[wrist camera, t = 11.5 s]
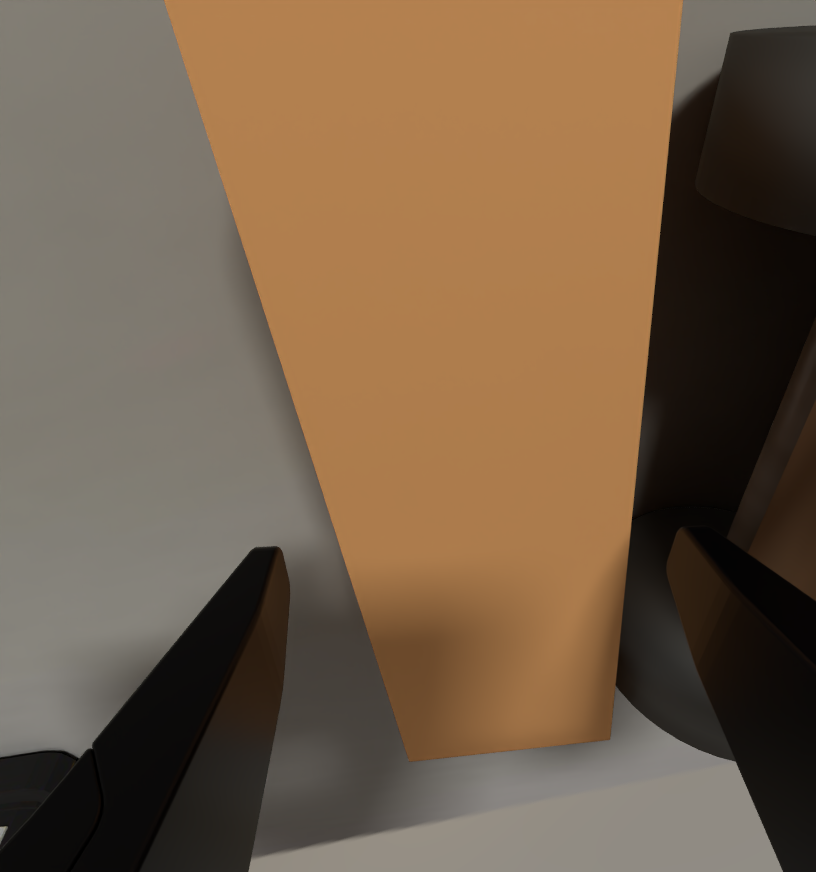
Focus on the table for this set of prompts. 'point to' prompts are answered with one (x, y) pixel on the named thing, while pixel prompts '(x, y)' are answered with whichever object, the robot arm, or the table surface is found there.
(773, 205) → the trolley
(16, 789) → the trophy
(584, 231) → the chock
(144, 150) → the table surface
